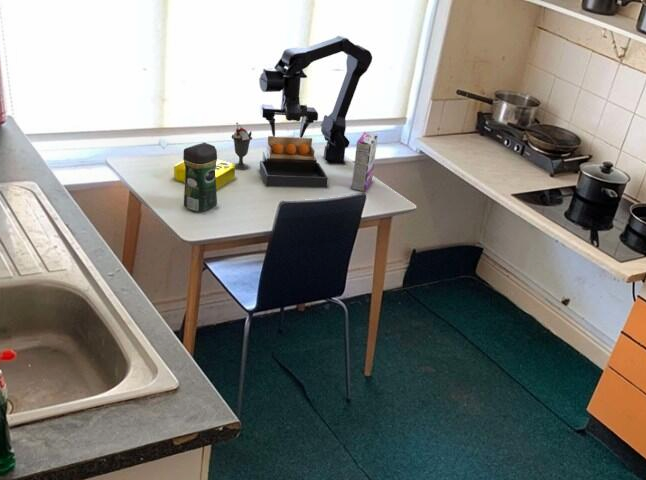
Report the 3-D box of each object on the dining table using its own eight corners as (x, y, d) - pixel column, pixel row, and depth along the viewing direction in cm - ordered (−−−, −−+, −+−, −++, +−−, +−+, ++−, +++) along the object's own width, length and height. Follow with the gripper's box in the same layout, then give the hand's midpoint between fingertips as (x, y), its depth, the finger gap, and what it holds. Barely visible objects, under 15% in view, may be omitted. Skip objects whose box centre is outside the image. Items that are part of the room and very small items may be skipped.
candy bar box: (358, 178, 264) (364, 131, 255) (372, 181, 264) (378, 134, 254) (350, 189, 255) (356, 140, 245) (364, 192, 254) (371, 144, 245)
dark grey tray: (317, 172, 263) (318, 162, 261) (326, 187, 253) (327, 177, 251) (259, 170, 256) (260, 160, 254) (266, 186, 246) (267, 175, 244)
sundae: (226, 167, 255) (228, 122, 246) (237, 161, 260) (239, 117, 251) (243, 172, 253) (246, 127, 244) (254, 166, 258) (256, 122, 250)
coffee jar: (200, 198, 231) (200, 138, 220) (221, 206, 229) (222, 145, 218) (178, 207, 224) (178, 145, 213) (199, 215, 221) (200, 153, 211)
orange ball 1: (281, 153, 256) (281, 142, 255) (283, 154, 253) (284, 143, 252) (271, 153, 255) (271, 142, 254) (273, 154, 252) (273, 143, 251)
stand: (310, 168, 265) (312, 152, 262) (315, 176, 260) (316, 160, 257) (262, 166, 260) (263, 150, 256) (265, 174, 254) (266, 158, 251)
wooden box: (310, 154, 260) (311, 138, 257) (314, 159, 256) (315, 143, 253) (266, 152, 256) (267, 136, 252) (269, 158, 251) (270, 141, 248)
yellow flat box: (196, 166, 251) (196, 151, 249) (237, 177, 248) (237, 163, 246) (171, 179, 239) (171, 164, 237) (213, 191, 237) (214, 177, 234)
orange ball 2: (294, 154, 258) (294, 143, 256) (296, 155, 255) (297, 144, 253) (284, 153, 257) (284, 143, 255) (286, 154, 253) (286, 143, 252)
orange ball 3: (307, 154, 259) (307, 144, 258) (309, 155, 256) (310, 144, 255) (297, 154, 258) (297, 143, 257) (299, 155, 255) (299, 144, 254)
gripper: (266, 96, 241) (264, 145, 250) (324, 100, 247) (319, 147, 256) (260, 86, 249) (258, 133, 258) (316, 90, 255) (312, 136, 264)
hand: (287, 138), depth 259 cm, fingers open, 9 cm apart
